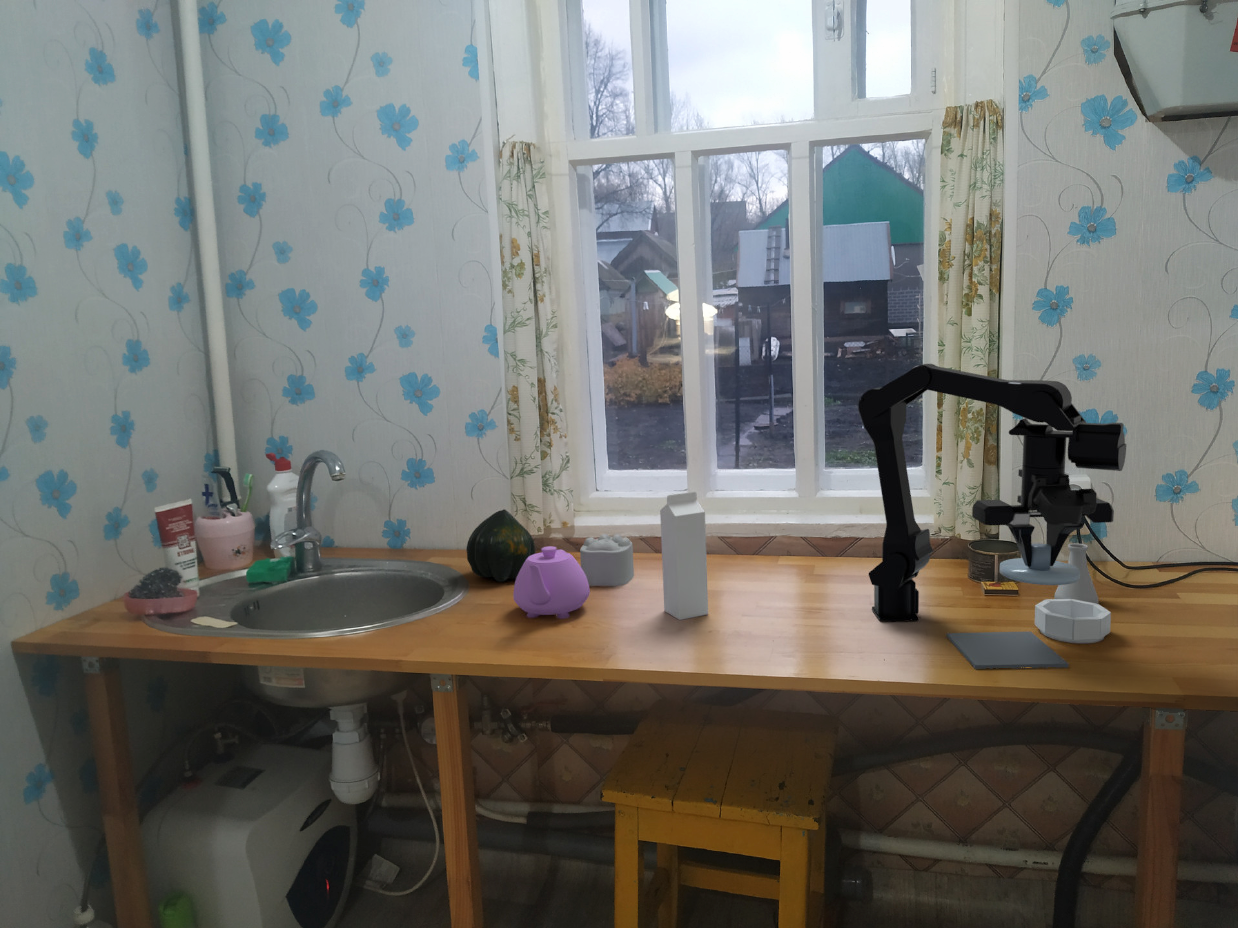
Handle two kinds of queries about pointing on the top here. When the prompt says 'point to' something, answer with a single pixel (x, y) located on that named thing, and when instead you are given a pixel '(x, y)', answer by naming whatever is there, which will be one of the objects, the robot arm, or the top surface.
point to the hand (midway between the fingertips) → (1038, 565)
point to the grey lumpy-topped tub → (607, 560)
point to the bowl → (1072, 620)
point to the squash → (499, 547)
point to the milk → (684, 556)
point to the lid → (1040, 568)
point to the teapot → (550, 584)
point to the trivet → (1005, 650)
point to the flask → (1084, 586)
